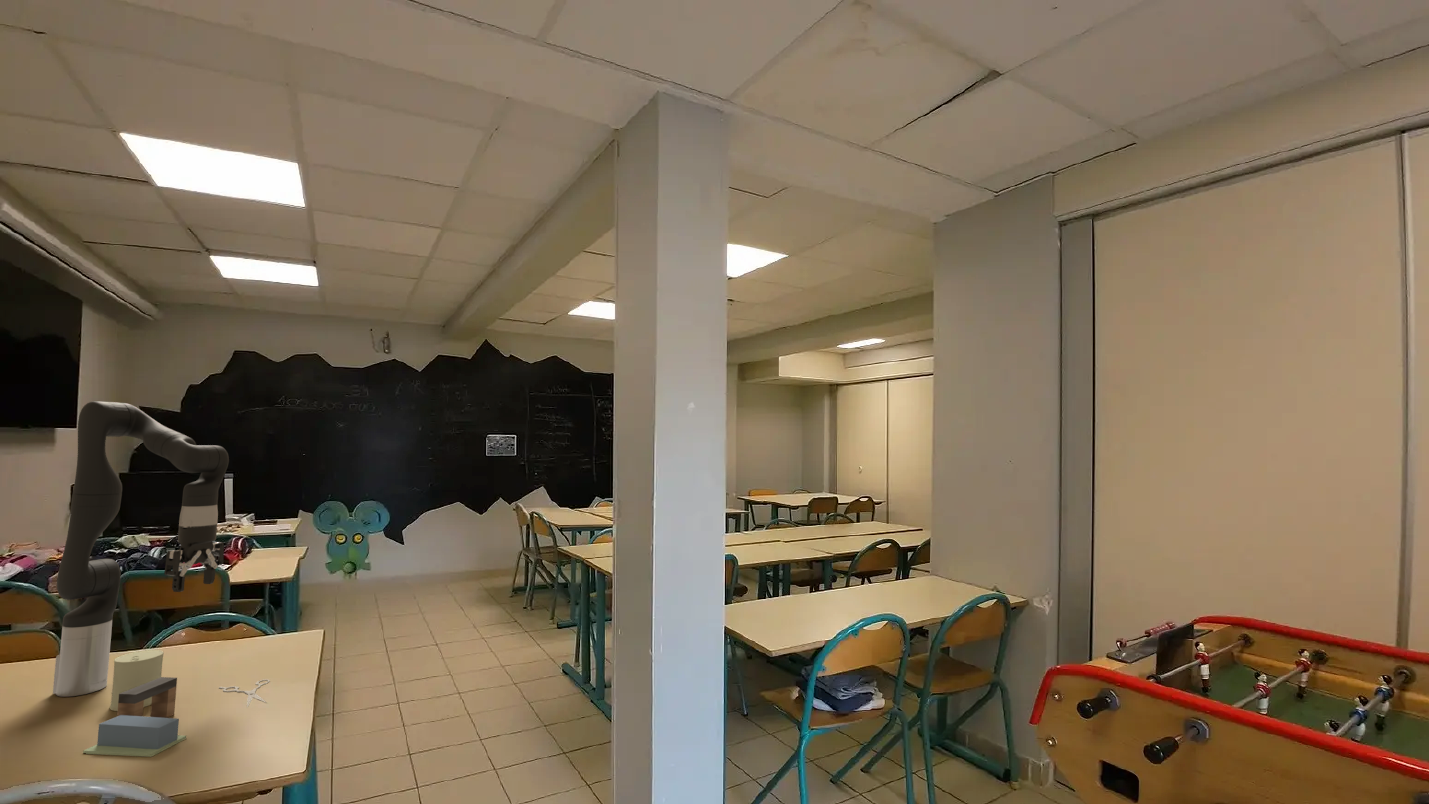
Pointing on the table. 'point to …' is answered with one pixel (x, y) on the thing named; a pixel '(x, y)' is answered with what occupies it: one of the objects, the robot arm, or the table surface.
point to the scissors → (249, 693)
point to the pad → (130, 749)
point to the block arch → (157, 689)
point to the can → (135, 673)
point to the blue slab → (138, 732)
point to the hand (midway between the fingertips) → (193, 587)
